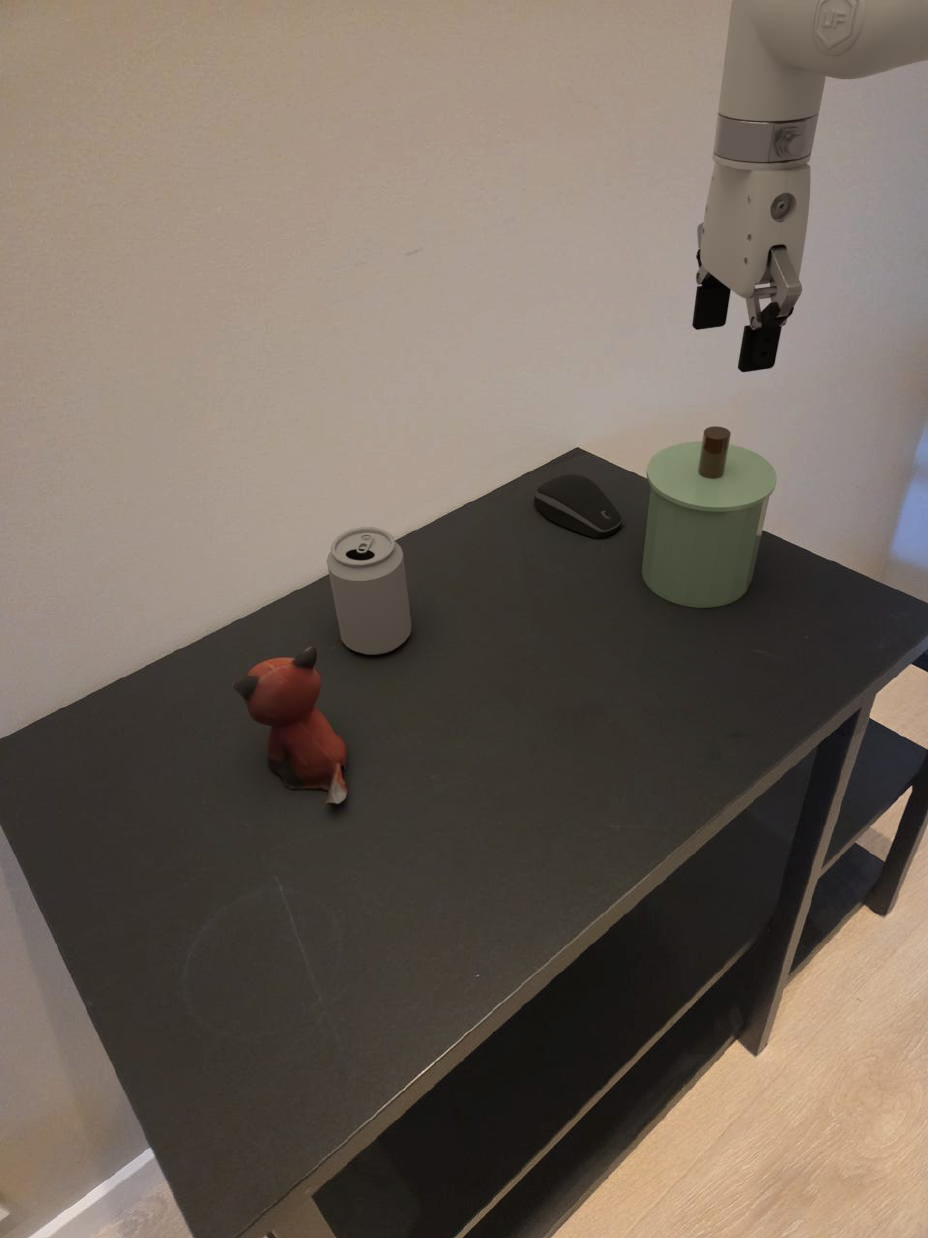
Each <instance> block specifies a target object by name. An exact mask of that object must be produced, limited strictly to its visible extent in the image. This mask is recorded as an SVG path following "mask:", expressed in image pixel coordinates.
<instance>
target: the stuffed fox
mask: <svg viewBox="0 0 928 1238" xmlns="http://www.w3.org/2000/svg"><path fill="white" fill-rule="evenodd" d="M317 660H318V654H317V648H316V646H313V645H312V646H309V647H307V648H306V649H305V650H304V651H302V652H300V653H298V654H297V655H296V656H295V658H294V657H276V658H271V659H267V660H263V661H261V662H259V663H257V664H256V665H255V666H253V667H252V668H251V669H250V670H249V671H248V673H247V675H244V676H240V677H238V678H236V680H235V681H234V682H232V684H231V689H233V690H234V691H235V692H237V693H238V695H239V696H240V697H241V698H242V699H243V702H244V704H245V706H246V708H247V711H248V714H249V716H250V718H251V720H253V721H254V722H256V723H259V724H260V725H264V726H269V727H271V728H270V732H269V735H268V741H267V763H266V764H265V765H266V766H267V768H270V769H271V770H272V771H273V772H275V773H276V775H278V776H279V777H280V779H281V781H282V784H283V786H284V787H287V788H288V789H290V790H293V789H297V790H306V789H310V790H324V791H327V794H326V799H325V802H324V804H325V805H326V804H333V805H334V804H335V805H339V804H341V803H342V802H343V801H345V800H346V798H347V795H348V791H349V790H348V788H347V786H346V785H345V784H346V782H345V780H344V778H343V771H342V767H343V769H344V770H346V764H347V762H348V759H347V756H348V755H347V754H348V753H347V748H346V744H345V741H344V739H343V738H342V737H341V736H340V735H339V734H338V733H337V731H335V730H334V728H333V727H332V726H331V723H329V721H328V720H327V718H326V717H325V715H324V714H323V713H322V712H321V710H320V709H319V708H318V707H316V703H317V701H318V698H319V695H320V692H321V689H322V680H321V679H322V678H321V676H320V675H319V672H317V669H315V667H314V666H315V665H316V664H317Z"/></svg>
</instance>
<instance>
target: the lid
mask: <svg viewBox="0 0 928 1238" xmlns="http://www.w3.org/2000/svg"><path fill="white" fill-rule="evenodd" d="M731 433H732V432H731V431H730V430H729V429H728V428H726V427H724V426H718V425H717V426H713V425H712V426H709V427H706V428H705V429H704V430H703V433H702V440H697V441H695V440H694V441H687V442H681V443H676V444H673V445H670V446H668V447H665V448H663V449H661V450H660V451H658V452H657V453H655V454H654V455H653V456H652V457H651V458H650V460H649V461H648V464H647V466H646V473H645V474H646V479H647V483H648V484H649V487H650V486H651V487H652V488H653V490H654V491H655V492H657V493H658V494H659V495H660V496H662V497H663V498H665V499H667V500H669V501H670V502H673V503H675V504H677V505H680V506H683V507H687V508H691V509H695V510H701V511H710V512H729V511H737V510H742V509H747V508H750V507H753V506H755V505H758V504H760V503H762V502H763V501H765V500H766V499H767V498H769V499H770V497H771V495H772V494H773V493H774V492H775V489H776V485H777V481H778V480H777V476H778V475H777V473H776V470H775V468H774V467H773V465H772V464H771V463H770V462H769V461H768V460H767V459H766V458H765V457H763V456H761V454H758V453H757V452H755V451H753V450H750V449H749V448H745V447H742V446H739V445H736V444H732V443H730V441H731V435H732V434H731Z"/></svg>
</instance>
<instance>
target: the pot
mask: <svg viewBox="0 0 928 1238" xmlns="http://www.w3.org/2000/svg"><path fill="white" fill-rule="evenodd" d="M648 494H649V495H648V500H647V501H648V503H647V513H646V519H645V520H646V522H645V530H644V540H643V549H642V558H641V576H642V579H643V582H644V584H645V585H646V586H647V588H648V589H650V591H651V592H653V593H654V594H655V595H657V596H659V598H662V599H663V600H665V601H668V602H670V603H673V604H676V605H679V606H683V607H688V608H697V609H709V608H710V609H711V608H717V607H722V606H727V605H729V604H732V603H734V602H736V601H738V600H739V599H741V598H742V597H743V596H744V595H745V594H746V593H747V591H748V590H749V589H750V585H751V583H752V581H753V576H754V571H755V567H756V563H757V557H758V552H759V549H760V543H761V539H762V533H763V530H764V529H763V528H764V524H765V520H766V515H767V510H768V506H769V501H770V497H769V498H767V499H766V500H765V501H763V502H762V503H760V504H758V505H755V506H753V507H750V508H747V509H742V510H737V511H729V512H710V511H701V510H695V509H691V508H687V507H683V506H680V505H677V504H675V503H673V502H670V501H669V500H667V499H665V498H663V497H662V496H660V495H659V494H658V493H657V492H655V491H654V490H653V488H652V487H651V486H650V485H649V493H648Z"/></svg>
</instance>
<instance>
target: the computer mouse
mask: <svg viewBox="0 0 928 1238" xmlns="http://www.w3.org/2000/svg"><path fill="white" fill-rule="evenodd" d="M533 503H534V506H535V507H536V509H537V510H538V511H539V513H540V514H541V515H543V516H544V517H545V518H546V519H548V520H549V521H552V523H555V524H557V525H558V526H561V527H563V528H566V529H568V530H570V531H573V532H575V533H578V534H581V535H583V536H587V537H590V538H593V539H603V538H607V537H609V536H611V535H613V534H615V533H616V532H617V531H619V530H620V529H621V527H622V525H623V517H622V515H621V513H620V512H619V511H618V509H617V508H616V507H615V505H614V504H613V503H612V501H611V500H610V499H609V498H608V497H607V495H606V494H605V493H604V492H603V490H602V489H601V488H600V487H599V486H598V485H597V484H596V483H595V482H594V481H593V480H591V479H590V478H588V477H586V476H584V475H581V474H575V473H569V474H563V475H560V476H556V477H554V478H552V479H550V480H548V481H546V482H544V483H542V484H541V485H540V486H539V487H538V488H537V489H536V491H535V493H534V498H533Z"/></svg>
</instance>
